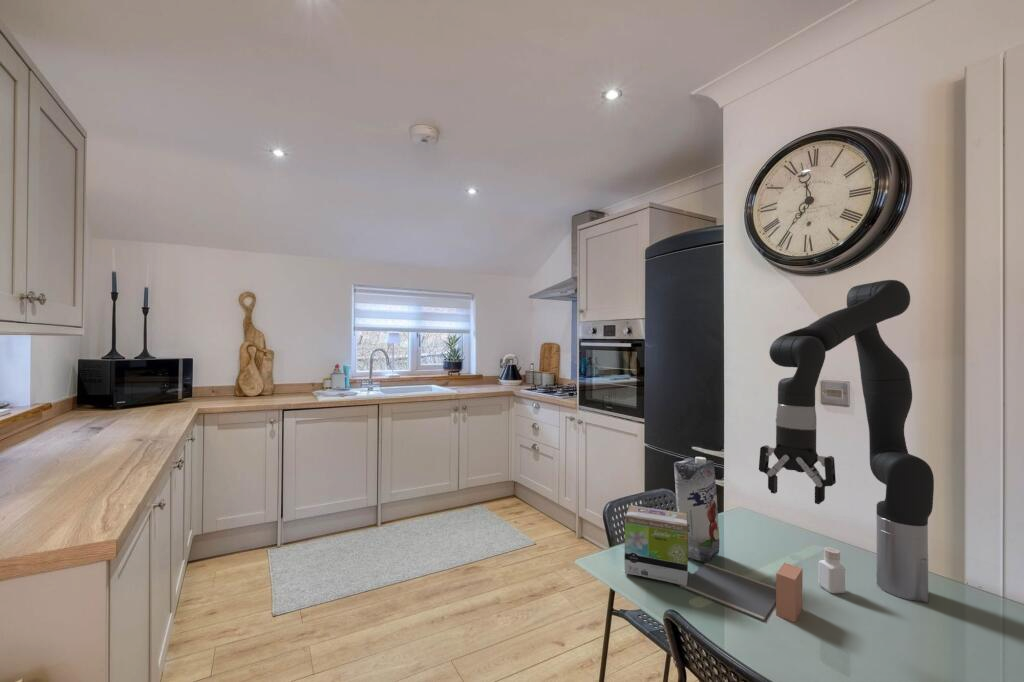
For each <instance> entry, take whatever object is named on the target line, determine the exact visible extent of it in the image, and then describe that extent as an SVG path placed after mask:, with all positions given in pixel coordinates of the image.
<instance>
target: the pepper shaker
mask: <svg viewBox="0 0 1024 682" xmlns="http://www.w3.org/2000/svg"><path fill="white" fill-rule="evenodd" d="M840 560H841V551H840V550H838V549H836V548H833V547H829V546H825V547H823V559H821V560H819V561H818V585H819V587H821V588H822V589H823V590H825V591H827V592H828V593H830V594H844V593H846V568H845V567H844V566H843V565H842V564H841V563H840V562H841V561H840Z"/></svg>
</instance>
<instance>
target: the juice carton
mask: <svg viewBox="0 0 1024 682" xmlns="http://www.w3.org/2000/svg"><path fill="white" fill-rule="evenodd" d="M673 468H674V485H675V504H676V506H675V507H676V512H680V513H687V521H688V559H692V560H696V561H699V562H703V563H708V562H709V561H710V560H711V559H712V558H713V557H716V556H717V555H718V554H719V552H720V544H721V543H720V542H721V541H720V530H719V528H720V527H719V513H718V512H719V511H718V497H717V485H716V483H717V482H716V472H715V471H716V470H715V461H714V460H709V459H708V460H707V458H706V457H704V456H695V458H693V457H692V458H691V457H687V458H685V459H684V460H681V461H674V463H673Z"/></svg>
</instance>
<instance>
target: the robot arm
mask: <svg viewBox="0 0 1024 682" xmlns="http://www.w3.org/2000/svg"><path fill="white" fill-rule="evenodd" d="M910 303H911V293H910V290H909V288H908V287H907V286H906V284H905V283H904V282H902V281H901V280H898V279H897V280H896V279H885V280H880V281H875V282H874V281H873V282H868V283H863V284H859V285H854V286H852V287H850V289H849V290H848V291H847V295H846V307H844V308H842V309H839V310H835V311H833V312H830V313H828V314H826V315H824V316H822V317H820V318H818V319H816V320H815V321H813V322H812V323H810V324H809V325H808V326H805V327H802V328H801V327H800V328H799V329H796V330H795V329H794V330H792V331H790V332H788V333H785V334H782V335H780V336H778V337H777V338H776V339H775V340H774V341H773V342H772V344H771V345H770V348H769V353H768V354H769V356H770V357H769V358H770V360H771V361H772V362H773V363H774V364H776V365H777V366H779V367H782V368H783V367H785V368H796V370H795V373H794V375H793V376H792V377H784V378H781V379H780V380H779V381H778V384H777V407H776V416H775V424H776V425H775V447H771V446H770V445H762V446H760V447H759V448H760V449H759V458H758V459H759V461H758V470H759V472H760V473H764V474H765V475H767V488H768V491H770V493H771V494H773V495H774V494H777V493H778V480H779V479H778V476H777V474H778V473H779V472H780V471H781V470H782V469H785V470H786V471H795V472H797V473H800V474H801V473H805V474H806V475H807V476H808V477H809V478H810V479H811V481H812V482H813V483H814V484H815V486H814V504H815V505H821V504H822V503H823V502H824V501H825V499H826V487H832V486H833V485H835V484H836V482H837V481H836V480H837V479H836V465H835V464H836V463H835V457H834V456H833V455H828V456H825V455H824V456H823V455H819V454H818V452H817V412H816V387H817V384H818V381H819V378H820V375H821V371H822V369H823V366H824V364H825V360H826V352H829V351H831V350H833V349H834V348H836V347H837V346H839V345H840V344H842V343H843V342H845V341H847V340H848V339H850V338H851V337H854V342H855V345H856V351H857V357H858V363H859V371H860V380H861V382H860V383H861V388H862V393H863V394H862V395H863V399H864V406H865V412H866V413H865V414H866V420H867V425H868V435H869V436H868V438H869V467H870V470H871V473H872V474H873V476H874V477H875V479H876V480H878V481H879V482H880V483H882V484H884V486H885V498H884V500H880V501H878V502H877V503H876V575H875V576H876V584H877V586H878V587H879V588H880V589H881V590H883V591H884V592H886V593H889V594H890V595H893V596H895V597H898V598H901V599H905V600H911V601H917V602H918V601H919V602H923V603H927V604H929V536H928V535H929V534H928V532H929V531H928V530H929V529H928V527H929V526H928V524H929V517H930V516H931V514H932V512H933V506H934V492H935V479H934V473H933V470H932V468H931V466H930V465H929V463H928V462H926V461H925V460H924V459H922V458H920V457H919V456H916V455H913V454H910V453H909V451H908V447H907V442H906V438H905V437H906V436H905V425H906V421H907V417H908V415H909V413H910V411H911V410H910V409H911V406H912V402H913V389H912V388H913V387H912V382H911V378H910V377H911V375H910V372H909V368H908V367H907V366H906V364H905V363H904V361H903V360H902V359H900V357H899V356H898V355H897V354H896V353H895V352H894V351H893V350H892V349H891V348H890V347H889V346H888V345H887V344H886V342H885V341H884V340H883V338H882V336H881V334H880V331H879V328H878V324H880V323H882V322H884V321H886V320H889V319H893V318H894V317H898V316H900V315H902V314H903V313H905V312H906V311H907V310H908V308H909V306H910V305H911V304H910ZM772 455H774V456H775V457H776V458H777V461H776V462H775V464H773V466H772V467H769V463H770V462H769V461H770V457H771V456H772ZM818 462H820V465H821V466H822V467H824V473H825V479H824V478H823V477H822V475H821V474H820V472H819V470H818V469H817V467H816V466H815V464H816V463H818Z"/></svg>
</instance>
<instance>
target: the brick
mask: <svg viewBox="0 0 1024 682" xmlns="http://www.w3.org/2000/svg"><path fill="white" fill-rule="evenodd" d="M803 570H804V569H803V568H802V567H799V566H798V565H793V564H790V563H787V562H784V563H783V564H782V565H781V567H780V568H779V569H778V570H777V572H776V575H775V578H776V579H775V580H776V581H775V587H776V603H775V615H776V616H777V617H779V618H782V619H785V620H787V621H790V622H791V623H792V622H793V623H796V621H797V620H798V619H799V616H800V614H801V613H802V610H803Z"/></svg>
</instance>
